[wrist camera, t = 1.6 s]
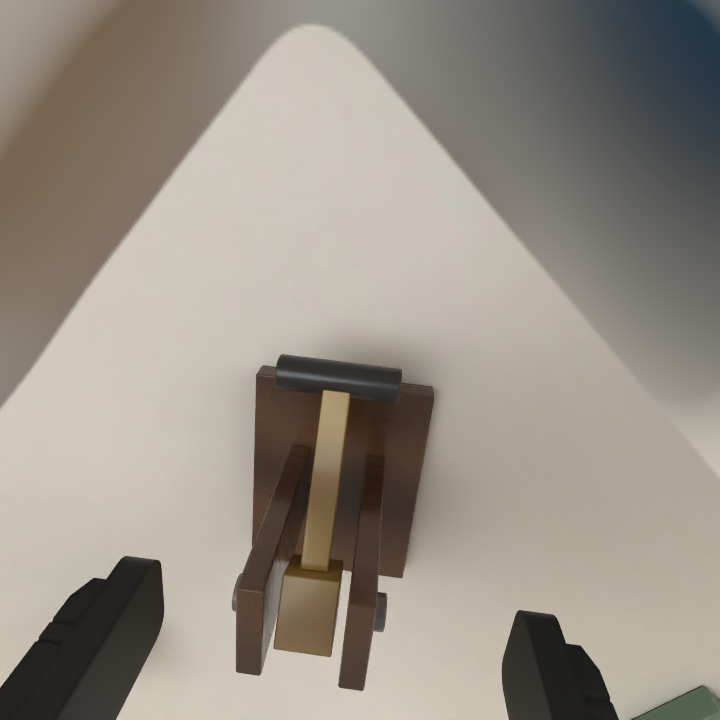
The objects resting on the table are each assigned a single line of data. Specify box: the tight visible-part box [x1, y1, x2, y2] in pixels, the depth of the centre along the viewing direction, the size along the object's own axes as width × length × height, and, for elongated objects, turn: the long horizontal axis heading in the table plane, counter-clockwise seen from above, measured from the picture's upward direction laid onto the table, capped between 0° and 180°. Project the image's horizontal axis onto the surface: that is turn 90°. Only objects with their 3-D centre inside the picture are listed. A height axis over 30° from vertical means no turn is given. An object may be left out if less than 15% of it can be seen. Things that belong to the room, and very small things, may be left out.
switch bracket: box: [232, 366, 434, 691], centre depth 23 cm, size 12×9×11 cm
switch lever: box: [274, 354, 402, 657], centre depth 20 cm, size 11×5×2 cm, turn 174°
